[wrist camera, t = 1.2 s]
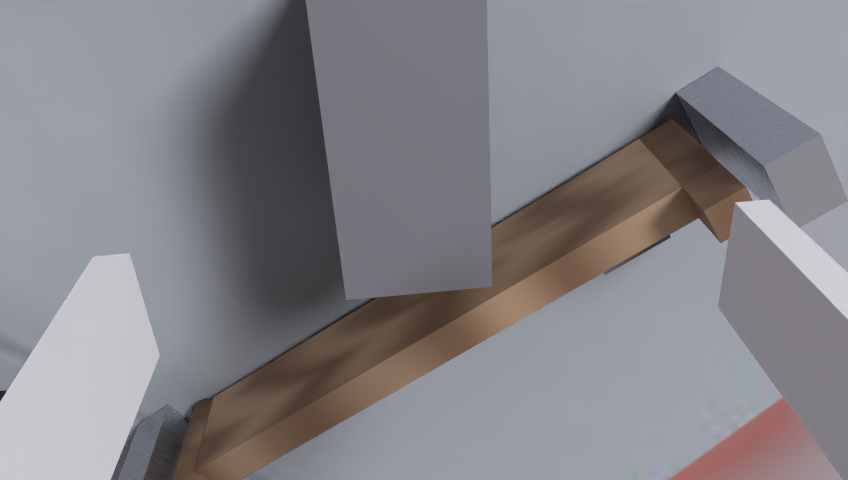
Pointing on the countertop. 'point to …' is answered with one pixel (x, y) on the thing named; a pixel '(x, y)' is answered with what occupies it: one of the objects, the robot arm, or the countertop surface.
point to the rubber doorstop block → (406, 141)
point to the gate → (464, 302)
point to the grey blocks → (719, 134)
